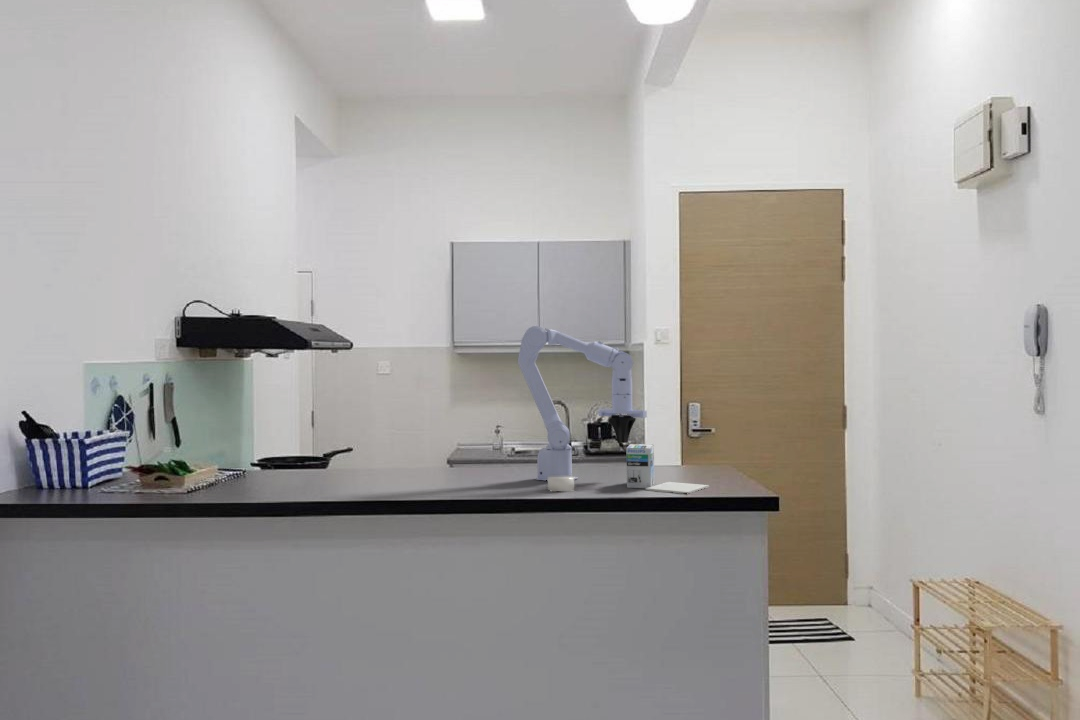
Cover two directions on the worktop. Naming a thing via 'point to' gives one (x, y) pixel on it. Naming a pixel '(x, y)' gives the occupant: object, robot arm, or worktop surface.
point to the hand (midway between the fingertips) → (622, 442)
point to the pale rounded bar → (561, 483)
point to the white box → (677, 487)
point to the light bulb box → (640, 465)
